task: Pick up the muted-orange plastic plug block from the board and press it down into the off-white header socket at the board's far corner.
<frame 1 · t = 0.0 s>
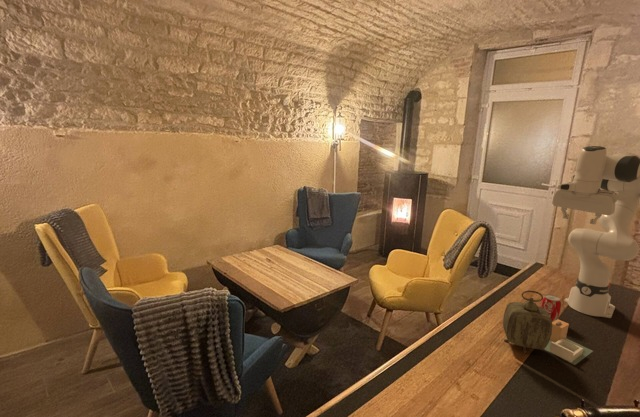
hand: (578, 221, 134), 48 cm above the table, fingers open, 8 cm apart
board: (554, 345, 131), on the table
plug: (556, 338, 134), point 1 cm above the table, touching board
tabletop clock: (522, 351, 128), on the table
header: (565, 352, 125), resting on board
soda can: (547, 322, 148), on the table
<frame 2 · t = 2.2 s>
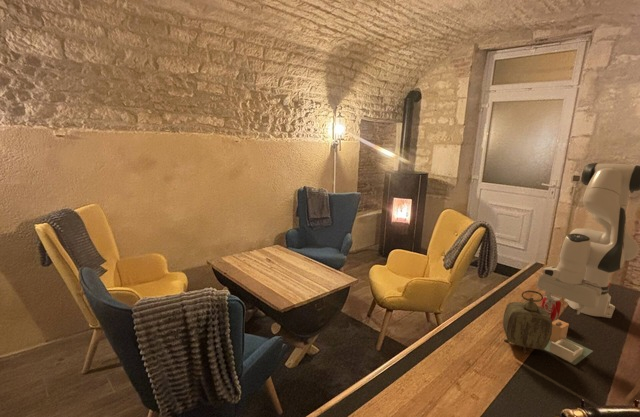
hand: (562, 308, 131), 15 cm above the table, fingers open, 8 cm apart
nothing on the table moved.
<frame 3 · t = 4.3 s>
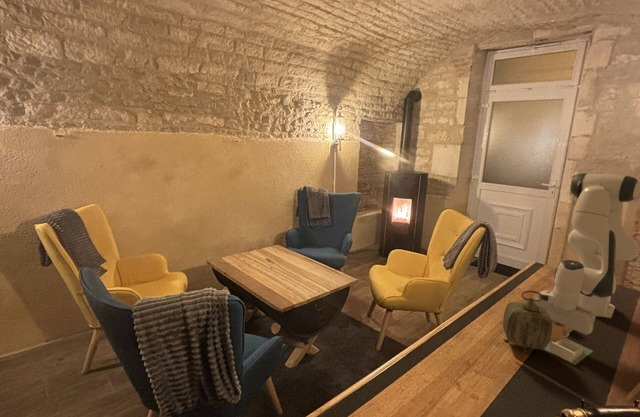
hand: (558, 332, 133), 4 cm above the table, fingers closed on plug, 4 cm apart
plug: (556, 338, 134), point 1 cm above the table, touching board, gripper
everything else where it was.
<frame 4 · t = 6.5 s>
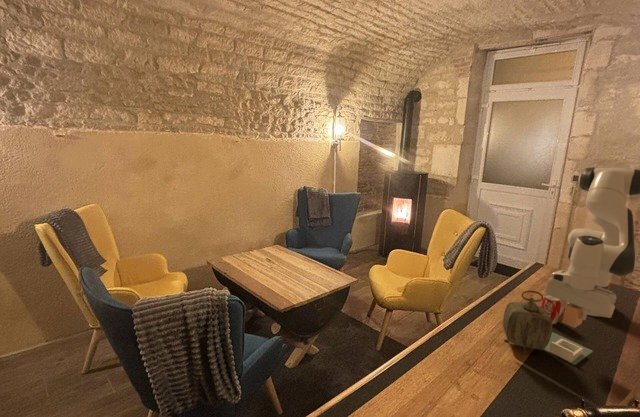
hand: (573, 315, 122), 17 cm above the table, fingers closed on plug, 4 cm apart
plug: (571, 322, 122), point 14 cm above the table, touching gripper
everything else where it was.
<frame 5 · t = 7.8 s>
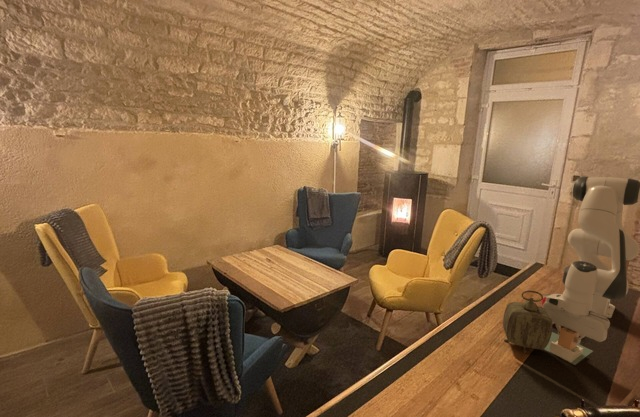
hand: (568, 338, 124), 7 cm above the table, fingers closed on plug, 4 cm apart
plug: (566, 346, 125), point 4 cm above the table, touching gripper
everything else where it was.
when the fingers open (5 cm above the table, at t = 8.9 s): plug stays where it is, resting on board.
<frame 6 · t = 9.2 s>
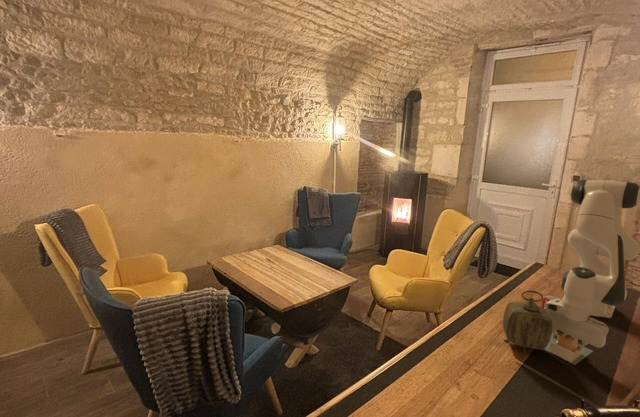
hand: (567, 344, 125), 5 cm above the table, fingers open, 6 cm apart
plug: (565, 352, 125), point 1 cm above the table, touching board
everything else where it was.
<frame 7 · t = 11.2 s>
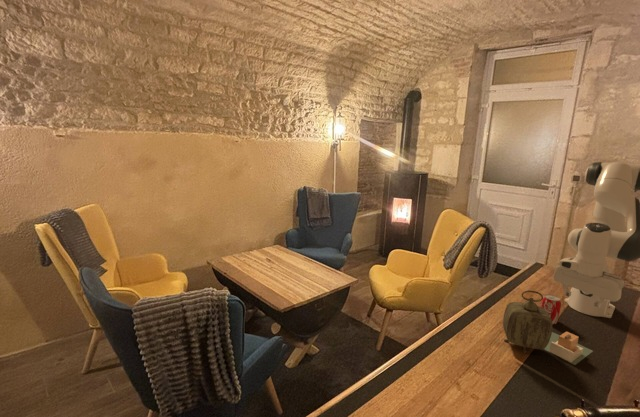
hand: (581, 301, 124), 21 cm above the table, fingers open, 8 cm apart
nothing on the table moved.
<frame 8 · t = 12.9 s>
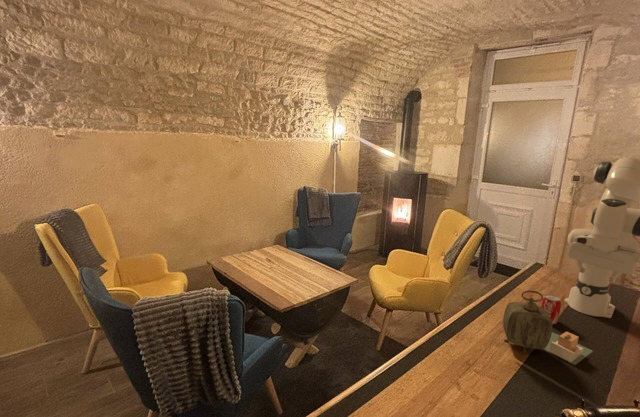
hand: (596, 276, 126), 29 cm above the table, fingers open, 8 cm apart
nothing on the table moved.
at the end: plug 0.0 cm off-centre on the header, point 0.0 cm above the header's base; plug tilted 0°; the gripper is holding nothing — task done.
